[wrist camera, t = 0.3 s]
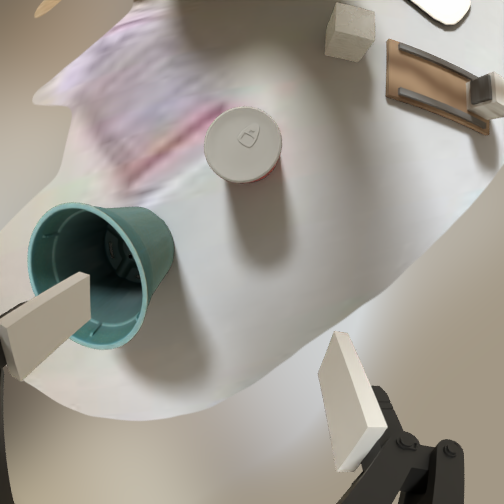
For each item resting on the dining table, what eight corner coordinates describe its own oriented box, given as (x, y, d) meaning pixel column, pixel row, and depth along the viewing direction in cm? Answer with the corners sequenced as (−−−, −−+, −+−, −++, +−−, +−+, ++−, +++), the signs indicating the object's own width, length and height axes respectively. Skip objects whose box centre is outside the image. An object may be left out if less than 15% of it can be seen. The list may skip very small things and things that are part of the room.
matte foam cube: (357, 62, 33) (374, 40, 26) (324, 55, 34) (335, 30, 26) (358, 33, 32) (374, 8, 24) (326, 25, 32) (336, -2, 24)
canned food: (286, 135, 37) (292, 118, 26) (267, 190, 39) (266, 194, 28) (232, 118, 37) (218, 96, 26) (213, 172, 39) (193, 170, 28)
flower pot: (208, 220, 40) (169, 247, 25) (168, 315, 44) (125, 374, 29) (113, 175, 40) (42, 179, 24) (85, 268, 44) (22, 304, 28)
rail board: (386, 41, 32) (409, 16, 23) (483, 84, 31) (515, 73, 22) (385, 96, 34) (412, 78, 25) (485, 135, 34) (519, 131, 25)
